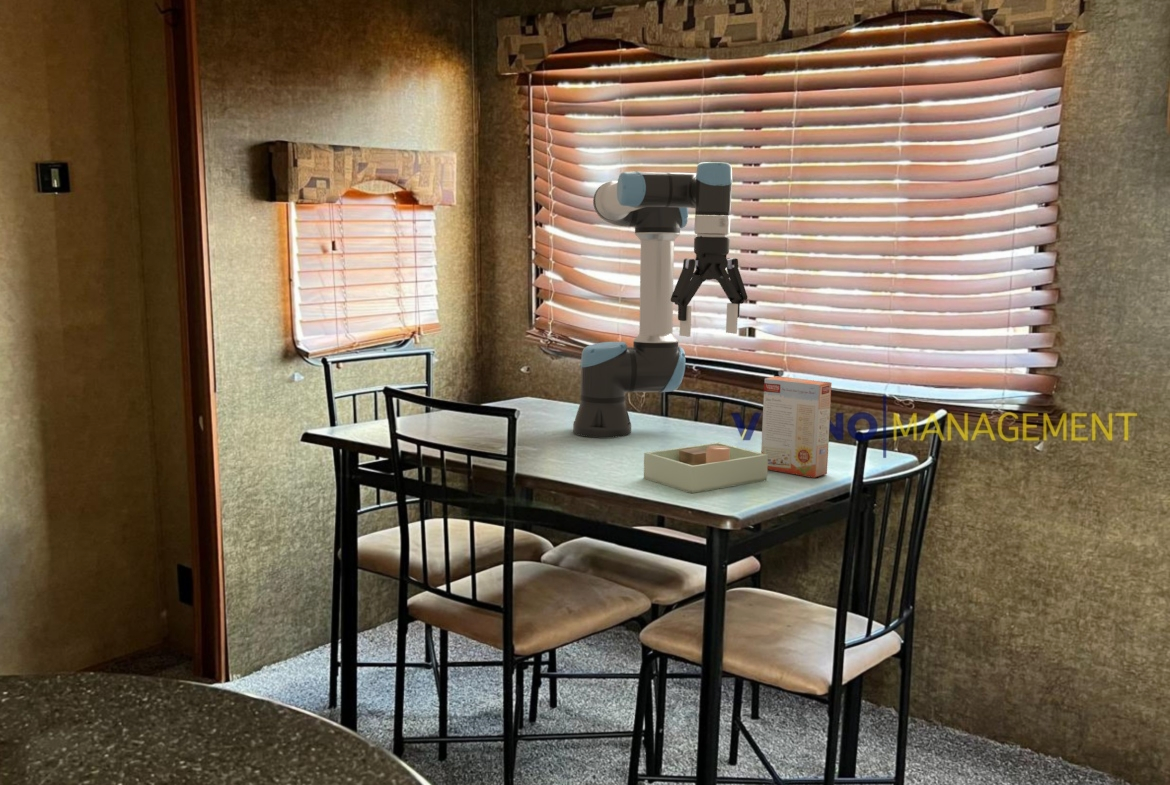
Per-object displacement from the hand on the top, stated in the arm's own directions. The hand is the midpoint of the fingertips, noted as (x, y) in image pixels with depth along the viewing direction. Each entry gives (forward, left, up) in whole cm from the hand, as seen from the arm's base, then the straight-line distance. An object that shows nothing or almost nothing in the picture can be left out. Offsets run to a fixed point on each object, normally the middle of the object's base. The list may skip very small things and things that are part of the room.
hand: (708, 334), depth 243 cm
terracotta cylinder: (+9, -4, -30) cm, 32 cm away
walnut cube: (+2, -4, -30) cm, 30 cm away
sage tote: (+5, -4, -31) cm, 31 cm away
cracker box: (+10, +18, -31) cm, 37 cm away
